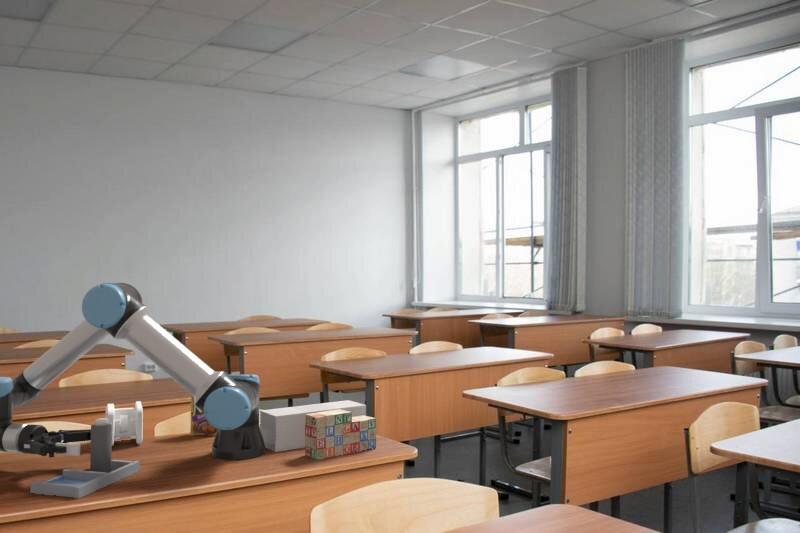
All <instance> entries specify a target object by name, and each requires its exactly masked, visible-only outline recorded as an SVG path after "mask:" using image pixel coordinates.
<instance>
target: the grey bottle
mask: <svg viewBox="0 0 800 533" xmlns="http://www.w3.org/2000/svg"><path fill="white" fill-rule="evenodd" d="M90 429H91V441H90V457H89V458H90V459H89V460H90V461H89V462H90V463H89V464H90V465H89V466H90V470H89V471H95V472H107V473H109V472H111V471H112V470H111V460H112V449H113V448H112V447H113V446H112V424H109V423H108V419H107V418H105V417H104V418H103V417H102V418H94V424H92V425H90Z"/></svg>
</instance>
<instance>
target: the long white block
mask: <svg viewBox="0 0 800 533" xmlns="http://www.w3.org/2000/svg"><path fill="white" fill-rule="evenodd" d="M337 409H341V410H345V411H350V412H352V417H357V416H363V415H364V416H367V404H363V403H359V402H357V401H352V400H349V399H348V400H347V399H345V400H339V401H329V402H322V403H314V404H313V403H312V404H306V405H305V404H304V405H296V406H289V407H279V408H272V409H271V408H270V409H262V410H259V427H260V430H261V434H262V437H263V440H264V443H265V449H268V450H270V451H273V452H274V453H277V452H278V451H279V452H284V451H289V450H297V449H305V425H306V424H305V415H306V414H311V413H318V412H324V411H330V410H337Z"/></svg>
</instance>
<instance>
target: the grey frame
mask: <svg viewBox="0 0 800 533" xmlns="http://www.w3.org/2000/svg"><path fill="white" fill-rule="evenodd" d="M140 471H141V461H140V460H135V461H134V460H120V459H111V472H109V473H107V472H95V471H90V470H81V469H70V468H68V469H67V468H65V469H63V470H62V473H61V474H62V475H61V474H60V475H58V476H56V477H52V478H50V479H48V480H45V481H35V480H34V481H32V482H30V483H29V484H30V488H29V490H30V492H29V493H30V494H31V493H35V494H34V495H42V494H44V495H43V496H53V495H56V496H55V497H65V498H66V497H68V498H74V499H81V498H83V497H86V496H87V495H90V494H92V493H94V492H96V490H97V491H98V490H100V489H103V488H106V487H107V486H110V485H111V484H114V483H116V482H118V481H121V480H122V479H125V478H126V477H129V476H132V475H133V474H136V473H139V472H140ZM109 484H110V485H109Z"/></svg>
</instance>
